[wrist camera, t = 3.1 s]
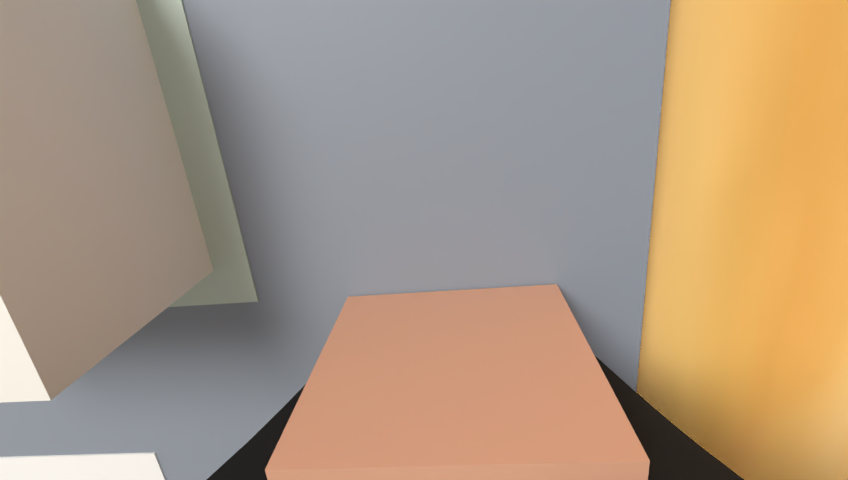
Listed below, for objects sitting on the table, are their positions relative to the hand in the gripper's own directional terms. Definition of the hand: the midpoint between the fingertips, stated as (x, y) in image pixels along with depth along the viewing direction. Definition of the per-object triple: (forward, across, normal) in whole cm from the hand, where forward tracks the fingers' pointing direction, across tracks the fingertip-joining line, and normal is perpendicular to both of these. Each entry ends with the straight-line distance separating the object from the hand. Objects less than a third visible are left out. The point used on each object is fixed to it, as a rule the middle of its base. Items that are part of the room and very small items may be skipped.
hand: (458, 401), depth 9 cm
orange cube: (+1, 0, 0) cm, 1 cm away
